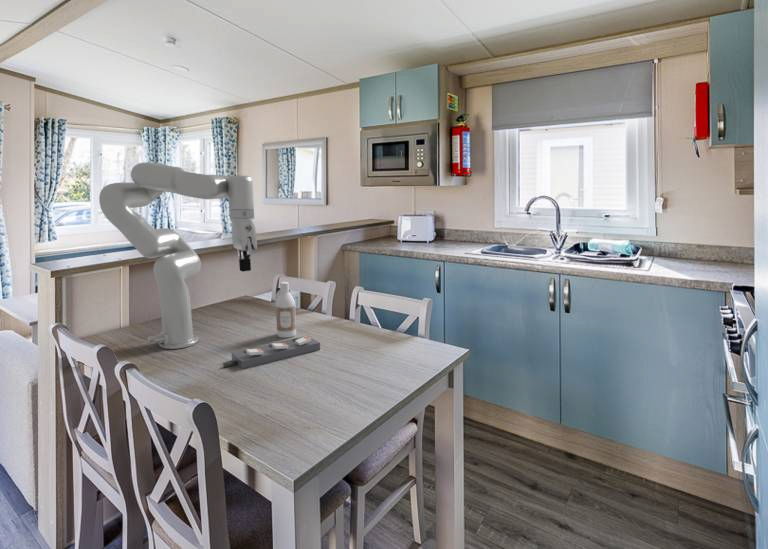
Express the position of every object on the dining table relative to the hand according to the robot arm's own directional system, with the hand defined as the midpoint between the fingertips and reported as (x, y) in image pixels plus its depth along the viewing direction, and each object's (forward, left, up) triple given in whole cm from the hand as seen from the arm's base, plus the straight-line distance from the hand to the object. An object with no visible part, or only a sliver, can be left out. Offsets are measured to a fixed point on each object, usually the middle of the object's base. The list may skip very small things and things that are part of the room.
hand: (245, 270), depth 150 cm
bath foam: (+16, +5, -27) cm, 32 cm away
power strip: (+3, -11, -27) cm, 29 cm away
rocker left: (-3, -13, -24) cm, 28 cm away
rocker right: (+14, -13, -24) cm, 30 cm away
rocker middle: (+5, -13, -24) cm, 28 cm away
